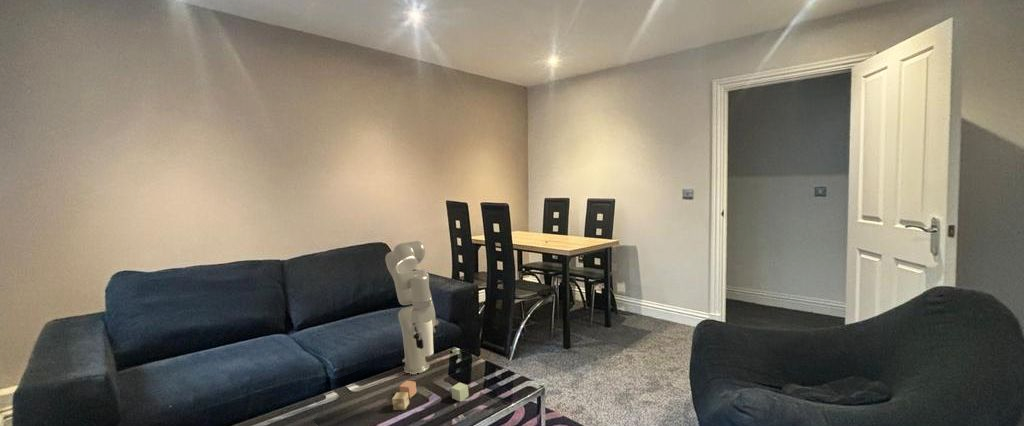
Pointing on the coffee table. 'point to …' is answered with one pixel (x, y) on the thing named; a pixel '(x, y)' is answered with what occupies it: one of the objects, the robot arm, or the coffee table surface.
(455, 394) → the sage block
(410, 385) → the terracotta block
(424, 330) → the drinking glass
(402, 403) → the birch block
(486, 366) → the coffee table surface
